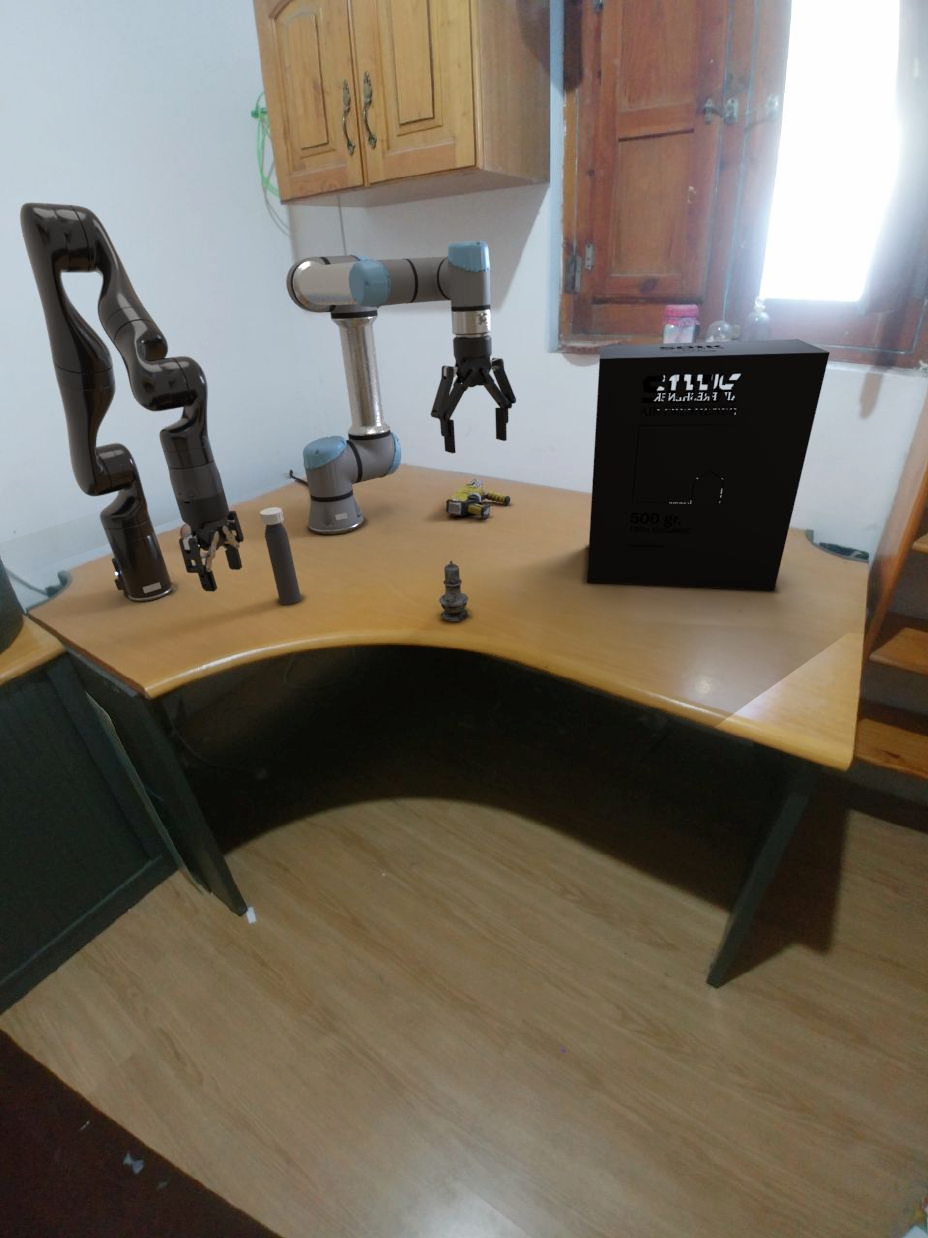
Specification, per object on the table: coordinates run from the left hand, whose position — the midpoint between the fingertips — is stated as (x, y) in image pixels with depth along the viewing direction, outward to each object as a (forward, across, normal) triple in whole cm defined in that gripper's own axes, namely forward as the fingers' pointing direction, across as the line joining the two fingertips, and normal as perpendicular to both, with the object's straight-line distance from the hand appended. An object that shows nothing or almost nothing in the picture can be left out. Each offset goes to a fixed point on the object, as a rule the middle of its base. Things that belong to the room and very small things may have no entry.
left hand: (223, 579), depth 107 cm
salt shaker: (+15, -17, +37) cm, 44 cm away
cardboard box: (+15, -44, +82) cm, 94 cm away
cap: (-5, -20, 0) cm, 21 cm away
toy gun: (+15, -82, +32) cm, 89 cm away
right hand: (-13, -41, +39) cm, 58 cm away
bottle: (+15, -20, 0) cm, 25 cm away
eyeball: (+15, -48, -40) cm, 65 cm away
